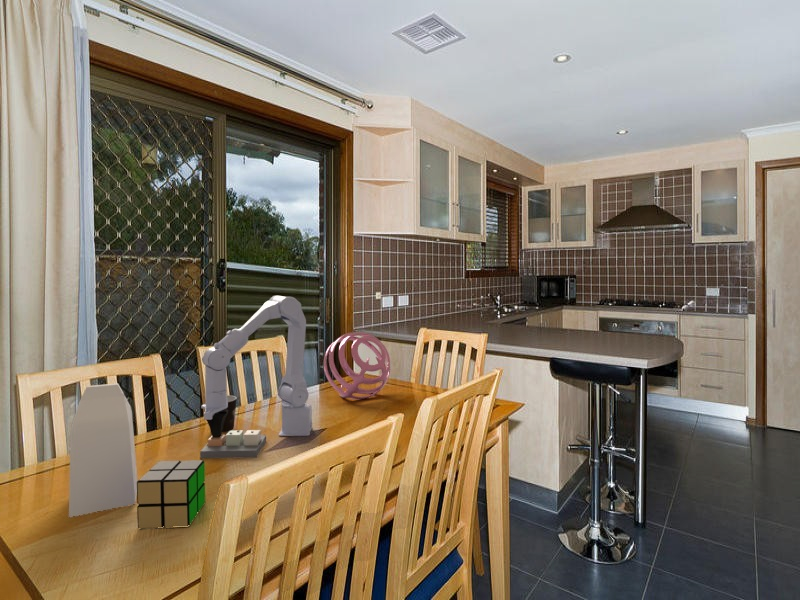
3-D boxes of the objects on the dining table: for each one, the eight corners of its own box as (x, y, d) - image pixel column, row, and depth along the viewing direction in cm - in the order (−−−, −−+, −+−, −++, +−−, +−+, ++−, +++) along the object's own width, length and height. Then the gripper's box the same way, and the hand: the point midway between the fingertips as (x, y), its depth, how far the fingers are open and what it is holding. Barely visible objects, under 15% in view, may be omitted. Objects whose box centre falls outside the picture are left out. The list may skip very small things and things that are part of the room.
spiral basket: (315, 344, 202) (338, 314, 183) (372, 355, 214) (400, 328, 195) (311, 405, 187) (337, 379, 167) (373, 413, 199) (404, 389, 179)
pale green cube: (243, 441, 134) (243, 429, 134) (239, 446, 131) (239, 434, 130) (229, 441, 134) (229, 429, 134) (226, 446, 130) (225, 434, 130)
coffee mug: (226, 435, 144) (225, 403, 144) (203, 432, 147) (202, 401, 146) (247, 423, 156) (247, 394, 155) (226, 420, 158) (225, 392, 157)
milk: (68, 517, 95) (64, 394, 94) (77, 493, 106) (74, 382, 104) (135, 504, 101) (132, 388, 99) (137, 483, 111) (135, 377, 110)
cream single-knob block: (260, 441, 135) (260, 429, 135) (257, 446, 131) (257, 433, 131) (247, 441, 135) (247, 429, 134) (243, 446, 131) (243, 434, 131)
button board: (266, 441, 139) (266, 435, 139) (256, 457, 127) (256, 450, 127) (214, 442, 138) (214, 435, 138) (200, 458, 126) (200, 451, 126)
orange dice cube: (225, 446, 134) (225, 434, 134) (221, 451, 130) (221, 438, 130) (212, 446, 134) (212, 434, 134) (208, 451, 130) (207, 438, 130)
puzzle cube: (159, 504, 101) (158, 460, 101) (205, 503, 102) (205, 459, 101) (136, 530, 91) (135, 481, 91) (189, 528, 92) (188, 479, 91)
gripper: (210, 383, 138) (211, 428, 139) (192, 396, 124) (192, 446, 124) (234, 383, 139) (234, 427, 139) (218, 396, 124) (219, 445, 125)
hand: (216, 436), depth 132 cm, fingers closed, pressing on orange dice cube
